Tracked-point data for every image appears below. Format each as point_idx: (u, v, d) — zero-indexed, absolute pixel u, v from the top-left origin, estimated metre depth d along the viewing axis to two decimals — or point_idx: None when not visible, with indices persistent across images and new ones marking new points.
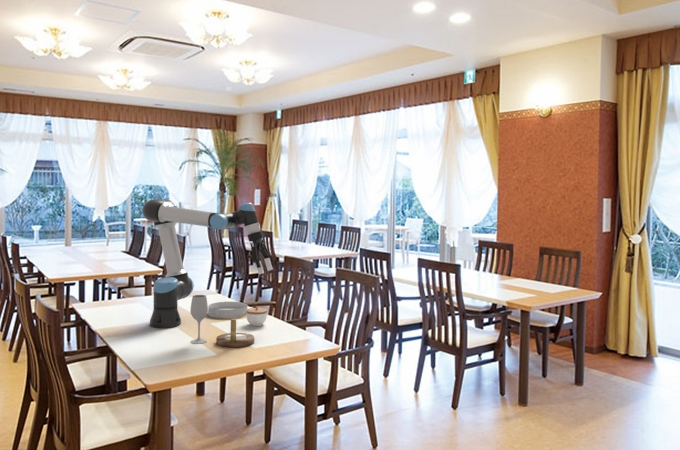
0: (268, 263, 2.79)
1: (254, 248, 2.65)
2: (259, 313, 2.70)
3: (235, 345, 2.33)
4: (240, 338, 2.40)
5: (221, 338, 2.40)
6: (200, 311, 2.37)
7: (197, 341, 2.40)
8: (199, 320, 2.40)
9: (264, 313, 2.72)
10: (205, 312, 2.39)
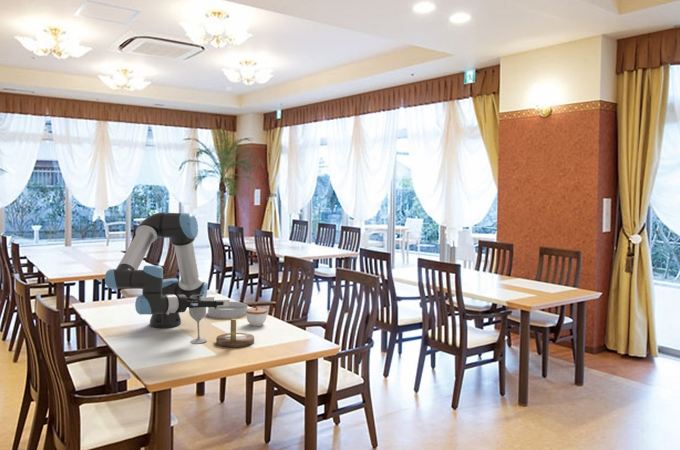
0: None
1: None
2: (259, 313, 2.70)
3: (235, 345, 2.33)
4: (240, 338, 2.40)
5: (221, 338, 2.40)
6: (198, 311, 2.37)
7: (197, 341, 2.40)
8: (198, 320, 2.39)
9: (264, 313, 2.72)
10: (203, 312, 2.39)
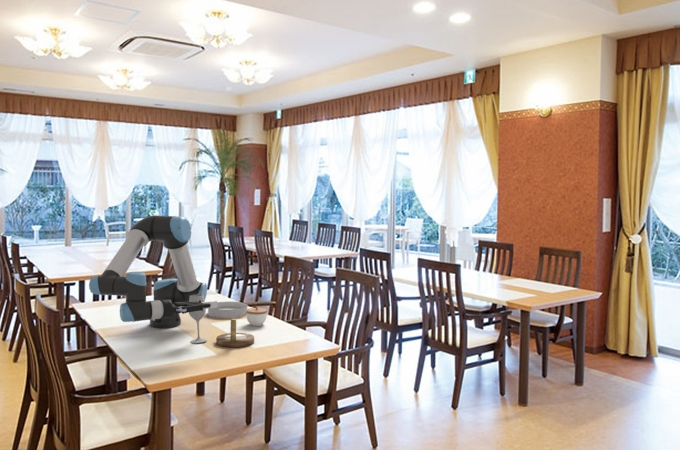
0: None
1: None
2: (259, 313, 2.70)
3: (235, 345, 2.33)
4: (240, 338, 2.40)
5: (221, 338, 2.40)
6: None
7: (197, 340, 2.40)
8: (198, 319, 2.40)
9: (264, 313, 2.72)
10: (203, 311, 2.39)
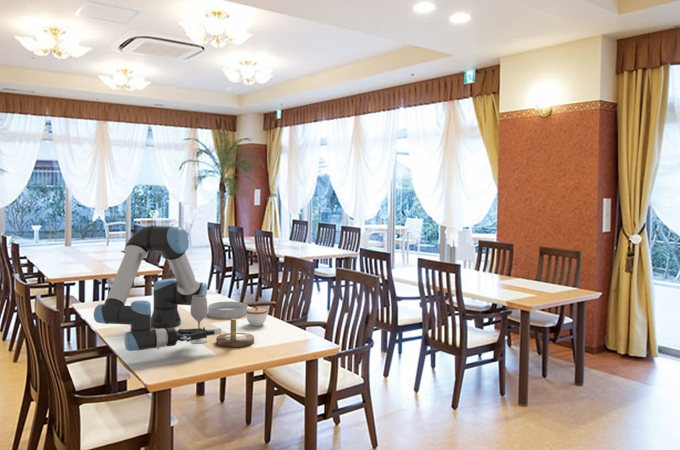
0: None
1: None
2: (259, 313, 2.70)
3: (235, 345, 2.33)
4: (240, 338, 2.40)
5: (221, 338, 2.40)
6: (200, 311, 2.37)
7: (197, 341, 2.40)
8: (199, 320, 2.40)
9: (264, 313, 2.72)
10: (205, 312, 2.39)
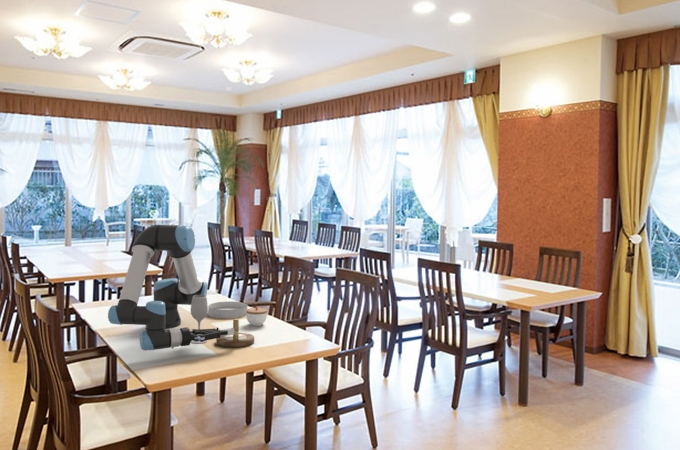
0: None
1: None
2: (259, 313, 2.70)
3: (238, 345, 2.34)
4: (241, 338, 2.40)
5: (221, 338, 2.39)
6: (200, 311, 2.37)
7: (197, 341, 2.40)
8: (199, 320, 2.40)
9: (264, 313, 2.72)
10: (205, 312, 2.39)
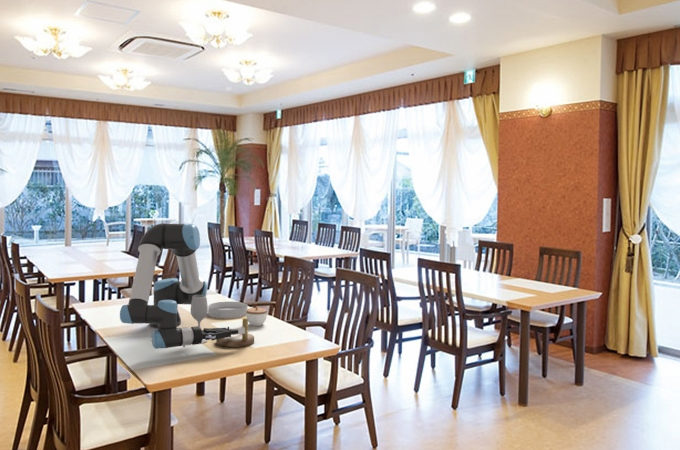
0: None
1: None
2: (259, 313, 2.70)
3: (248, 343, 2.37)
4: None
5: (226, 340, 2.36)
6: (200, 311, 2.37)
7: None
8: (199, 320, 2.40)
9: (264, 313, 2.72)
10: (205, 312, 2.39)
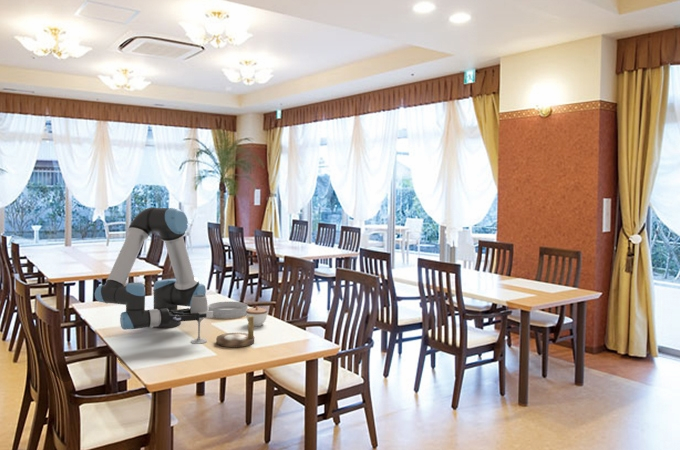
0: None
1: None
2: (259, 313, 2.70)
3: None
4: (241, 335, 2.44)
5: (236, 341, 2.35)
6: (200, 311, 2.37)
7: (197, 341, 2.40)
8: (199, 320, 2.40)
9: (264, 313, 2.72)
10: None
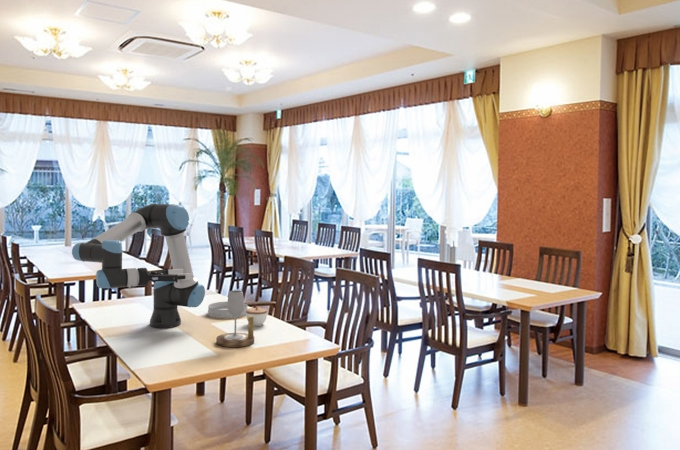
0: None
1: None
2: (259, 313, 2.70)
3: None
4: None
5: (236, 341, 2.35)
6: (237, 306, 2.37)
7: (234, 336, 2.39)
8: (236, 315, 2.40)
9: (264, 313, 2.72)
10: (242, 307, 2.39)
